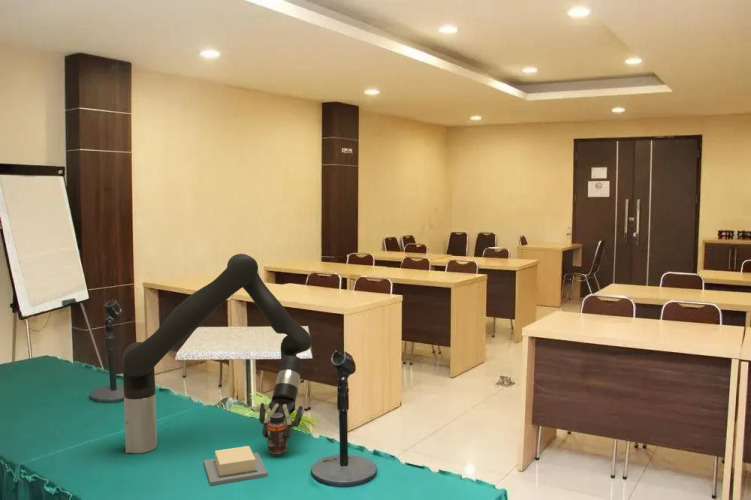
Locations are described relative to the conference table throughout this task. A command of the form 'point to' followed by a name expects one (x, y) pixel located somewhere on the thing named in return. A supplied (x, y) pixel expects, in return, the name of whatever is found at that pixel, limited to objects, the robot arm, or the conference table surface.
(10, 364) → the conference table surface
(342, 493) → the conference table surface
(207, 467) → the board
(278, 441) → the supplement bottle
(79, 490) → the conference table surface
